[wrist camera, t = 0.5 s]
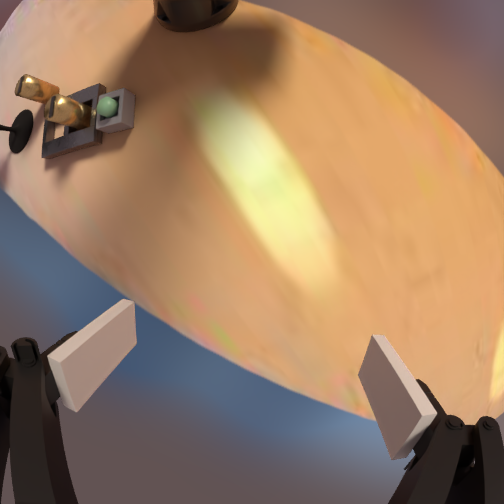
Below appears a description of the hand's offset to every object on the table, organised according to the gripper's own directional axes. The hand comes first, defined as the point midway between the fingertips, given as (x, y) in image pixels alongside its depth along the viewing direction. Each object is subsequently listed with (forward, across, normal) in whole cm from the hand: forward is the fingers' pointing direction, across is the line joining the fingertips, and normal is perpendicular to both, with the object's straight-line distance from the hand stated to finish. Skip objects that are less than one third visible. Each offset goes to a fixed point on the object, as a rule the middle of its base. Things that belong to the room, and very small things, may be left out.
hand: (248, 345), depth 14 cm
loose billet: (+27, -47, +26) cm, 60 cm away
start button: (+23, -26, +20) cm, 40 cm away
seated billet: (+27, -34, +19) cm, 47 cm away
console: (+27, -26, +20) cm, 42 cm away
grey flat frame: (+27, -37, +19) cm, 50 cm away
